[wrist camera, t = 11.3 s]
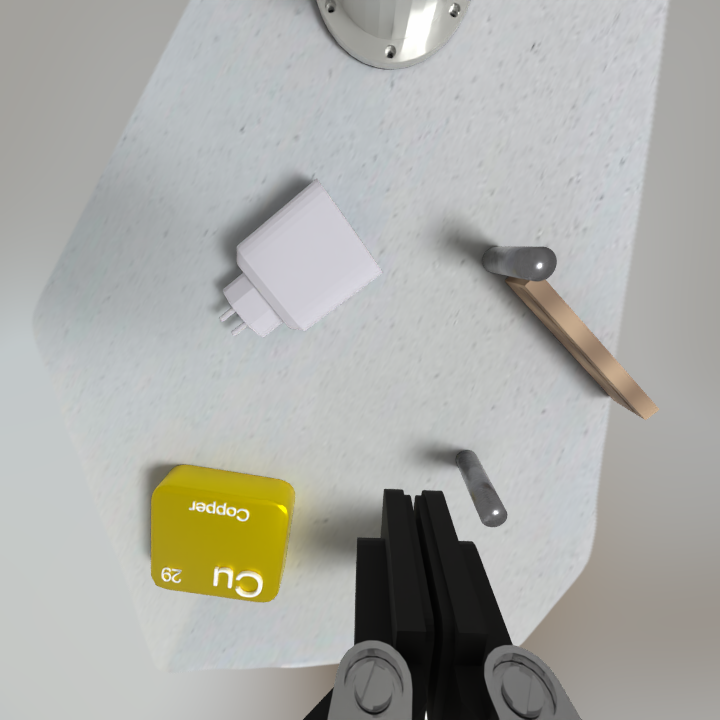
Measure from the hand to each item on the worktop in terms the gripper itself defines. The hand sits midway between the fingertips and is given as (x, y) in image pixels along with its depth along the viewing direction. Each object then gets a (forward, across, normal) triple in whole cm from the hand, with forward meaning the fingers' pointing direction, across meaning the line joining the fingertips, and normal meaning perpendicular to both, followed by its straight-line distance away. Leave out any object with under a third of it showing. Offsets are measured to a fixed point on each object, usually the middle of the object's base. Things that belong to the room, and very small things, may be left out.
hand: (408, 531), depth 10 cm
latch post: (+27, -11, +15) cm, 33 cm away
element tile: (+28, +17, +25) cm, 41 cm away
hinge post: (+27, -11, -7) cm, 30 cm away
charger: (+28, +8, -5) cm, 29 cm away
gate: (+27, -19, 0) cm, 33 cm away
